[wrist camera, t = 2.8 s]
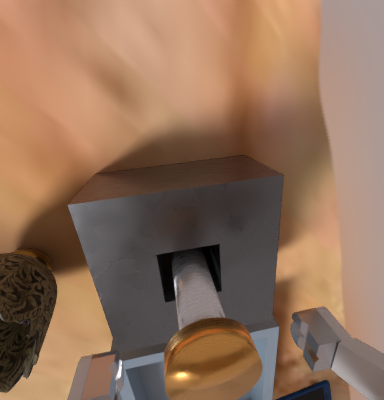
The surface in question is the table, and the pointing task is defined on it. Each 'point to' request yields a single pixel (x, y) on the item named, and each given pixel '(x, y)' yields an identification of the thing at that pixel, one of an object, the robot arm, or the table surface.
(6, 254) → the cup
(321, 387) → the cell phone
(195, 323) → the pin
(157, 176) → the block
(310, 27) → the table surface
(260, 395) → the tray
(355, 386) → the robot arm
